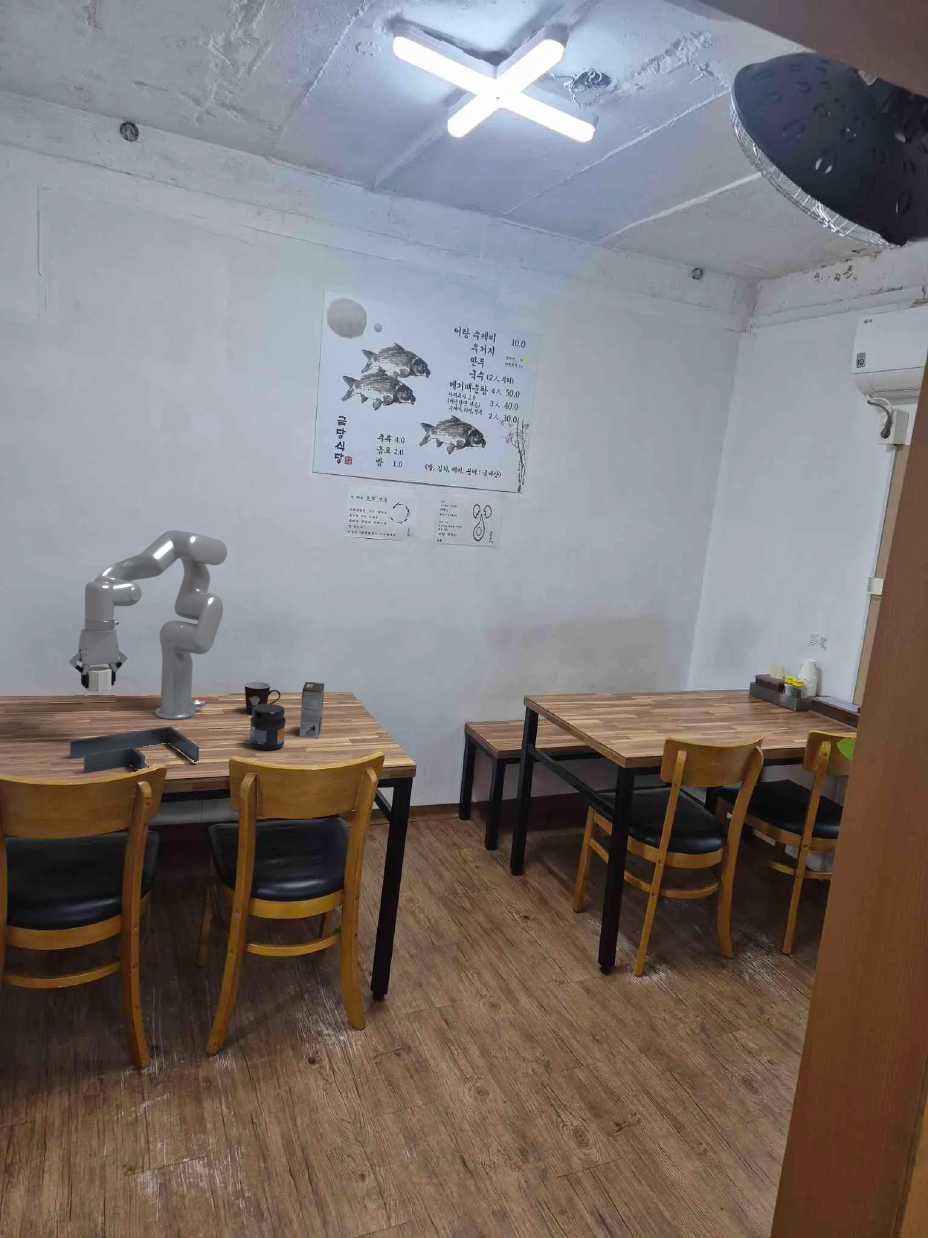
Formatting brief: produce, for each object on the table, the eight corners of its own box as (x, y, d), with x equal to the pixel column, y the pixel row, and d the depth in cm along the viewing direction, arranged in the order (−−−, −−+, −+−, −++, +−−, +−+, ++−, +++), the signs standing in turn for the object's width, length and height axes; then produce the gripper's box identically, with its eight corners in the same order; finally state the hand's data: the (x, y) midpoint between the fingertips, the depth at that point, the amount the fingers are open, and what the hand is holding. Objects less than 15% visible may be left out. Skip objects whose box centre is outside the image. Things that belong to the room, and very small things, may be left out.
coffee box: (302, 728, 256) (305, 681, 253) (321, 729, 257) (325, 682, 254) (298, 737, 247) (301, 688, 244) (318, 738, 248) (322, 690, 245)
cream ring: (106, 685, 227) (106, 665, 226) (113, 690, 223) (114, 670, 222) (83, 687, 223) (83, 667, 222) (90, 693, 218) (90, 672, 217)
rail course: (170, 742, 231) (170, 726, 230) (198, 764, 217) (199, 747, 216) (69, 757, 212) (69, 740, 211) (93, 782, 198) (93, 764, 197)
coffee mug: (237, 713, 264) (239, 685, 263) (253, 707, 272) (255, 680, 271) (265, 720, 260) (267, 691, 259) (280, 714, 268) (282, 686, 266)
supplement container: (289, 743, 241) (292, 706, 239) (274, 753, 231) (276, 715, 229) (259, 737, 243) (261, 701, 241) (242, 747, 233) (244, 709, 231)
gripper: (125, 621, 228) (124, 679, 231) (62, 624, 216) (62, 685, 219) (135, 626, 223) (133, 685, 226) (70, 629, 211) (70, 692, 214)
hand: (98, 685), depth 222 cm, fingers closed on cream ring, 6 cm apart
